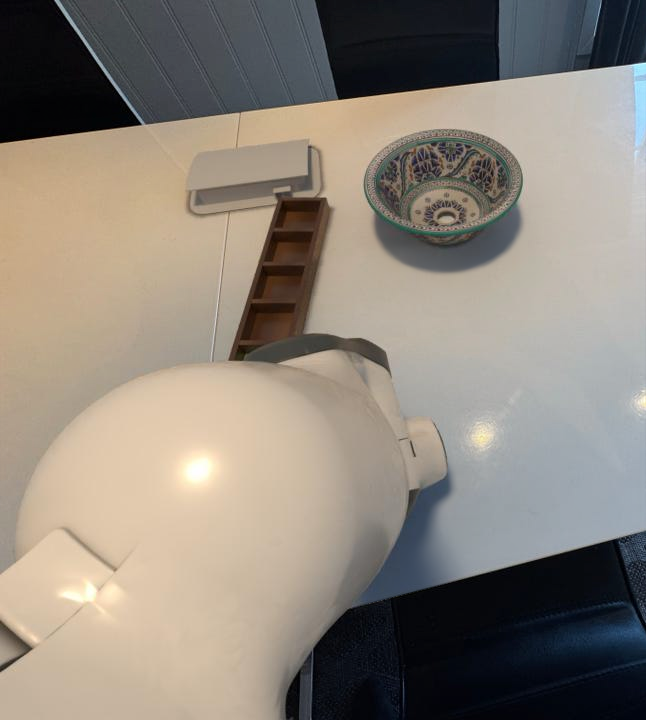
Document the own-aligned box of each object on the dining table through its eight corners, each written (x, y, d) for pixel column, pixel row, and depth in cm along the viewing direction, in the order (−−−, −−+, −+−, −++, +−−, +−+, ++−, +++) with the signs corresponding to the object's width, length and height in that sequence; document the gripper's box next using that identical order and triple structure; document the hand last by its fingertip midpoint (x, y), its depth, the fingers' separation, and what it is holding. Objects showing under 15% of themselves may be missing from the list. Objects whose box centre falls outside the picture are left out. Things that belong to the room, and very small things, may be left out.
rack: (227, 401, 69) (218, 391, 67) (284, 209, 89) (278, 197, 87) (287, 401, 69) (280, 391, 67) (330, 209, 89) (326, 197, 87)
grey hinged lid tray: (321, 198, 91) (315, 179, 87) (188, 216, 88) (176, 198, 85) (318, 145, 99) (312, 127, 95) (195, 161, 96) (185, 142, 93)
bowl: (409, 163, 96) (402, 116, 88) (536, 192, 91) (541, 145, 83) (348, 255, 83) (334, 210, 75) (492, 294, 79) (493, 251, 71)
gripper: (278, 397, 58) (151, 434, 56) (306, 579, 48) (152, 634, 45) (295, 420, 63) (180, 455, 61) (324, 588, 53) (187, 638, 51)
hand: (168, 533), depth 53 cm, fingers open, 8 cm apart
